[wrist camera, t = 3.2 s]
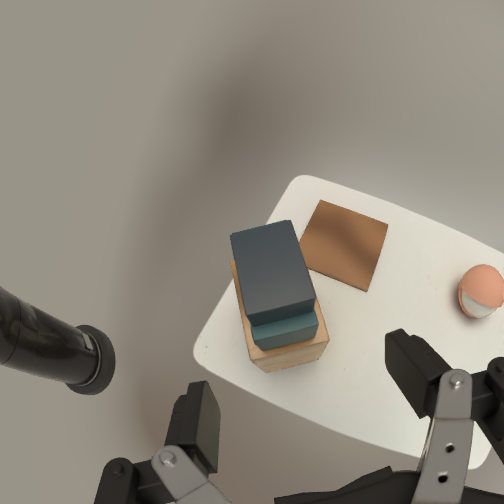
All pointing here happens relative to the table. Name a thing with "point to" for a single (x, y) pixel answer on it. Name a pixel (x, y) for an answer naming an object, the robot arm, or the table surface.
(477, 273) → the toy ball
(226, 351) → the table surface
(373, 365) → the table surface
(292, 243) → the toy van
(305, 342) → the wooden block
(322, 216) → the mat
